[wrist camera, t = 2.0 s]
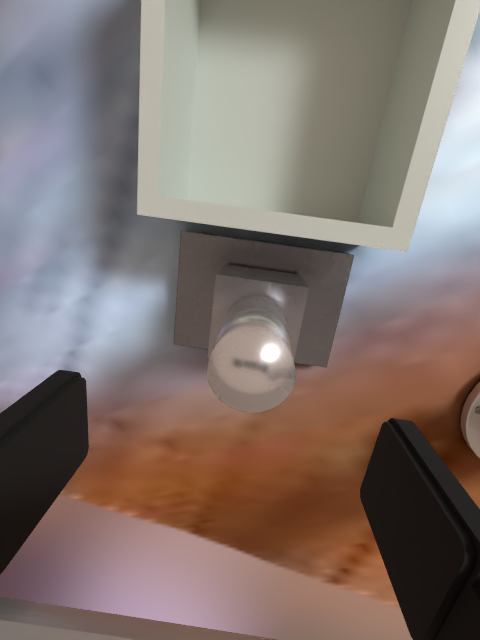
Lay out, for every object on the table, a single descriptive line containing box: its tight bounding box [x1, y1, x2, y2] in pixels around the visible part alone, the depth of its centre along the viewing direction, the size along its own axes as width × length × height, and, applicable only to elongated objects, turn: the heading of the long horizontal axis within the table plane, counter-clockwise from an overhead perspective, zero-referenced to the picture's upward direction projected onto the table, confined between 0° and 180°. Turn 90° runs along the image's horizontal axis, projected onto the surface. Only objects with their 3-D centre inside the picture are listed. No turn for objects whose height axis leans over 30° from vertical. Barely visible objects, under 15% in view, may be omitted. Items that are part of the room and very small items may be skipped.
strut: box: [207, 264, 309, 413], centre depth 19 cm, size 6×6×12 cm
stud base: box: [174, 231, 354, 368], centre depth 24 cm, size 14×10×6 cm
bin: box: [137, 0, 480, 252], centre depth 19 cm, size 16×18×8 cm
